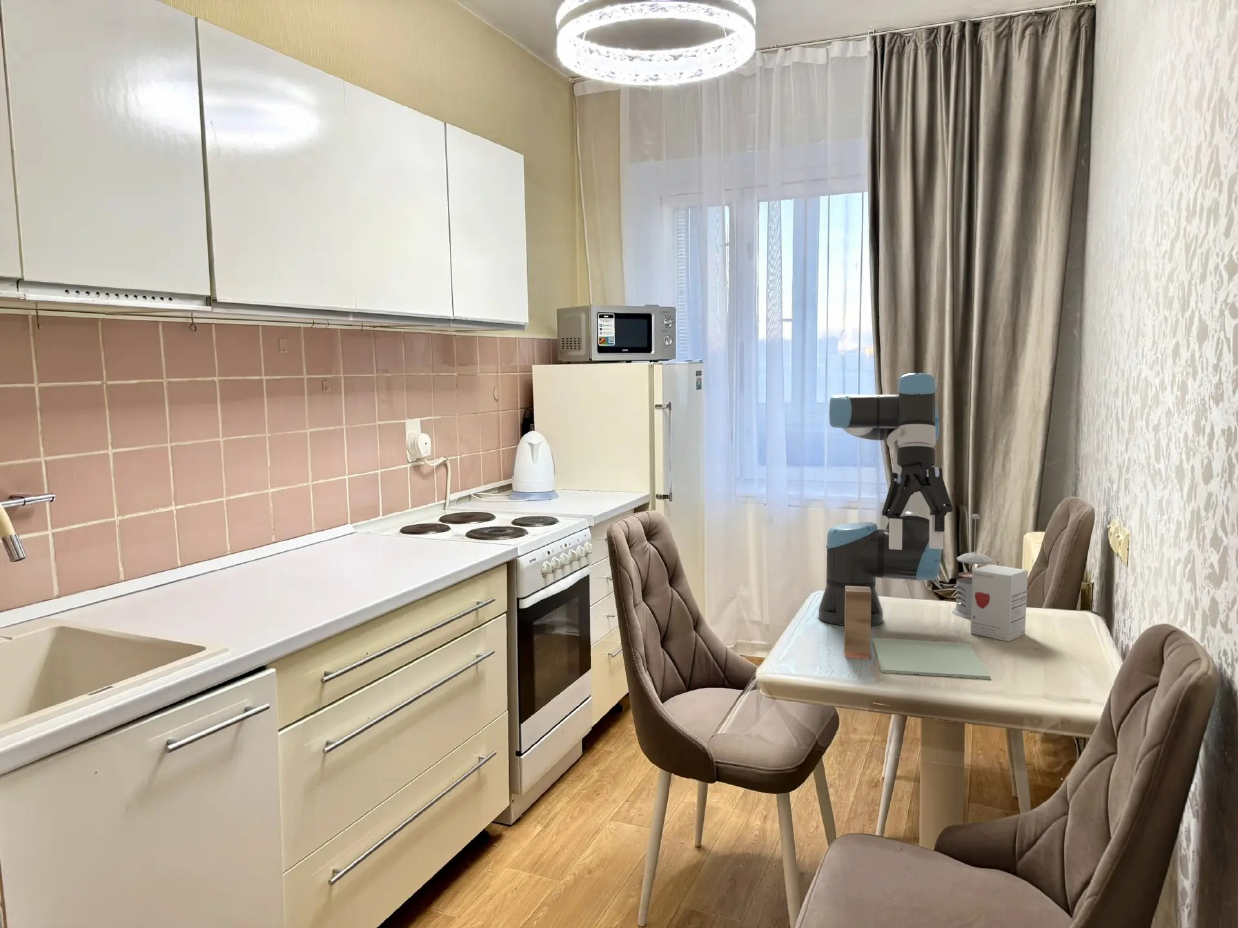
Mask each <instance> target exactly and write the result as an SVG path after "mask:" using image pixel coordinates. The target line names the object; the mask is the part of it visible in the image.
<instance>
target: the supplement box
mask: <svg viewBox="0 0 1238 928" xmlns="http://www.w3.org/2000/svg"><path fill="white" fill-rule="evenodd" d="M975 568H976V569H974V568H973V569H972V573H973V577H972V606H971V618H970V634H973V635H977V636H982V637H986V638H990V639H995V640H1000V641H1004V642H1010V641H1013V640H1015V639H1018V638H1020V637H1022V636H1024V635H1025V634H1026V619H1027V598H1028V597H1027V594H1028V578H1029V577H1028V575H1029V570H1028V569H1023V568H1016V567H1010V566H1002V565H996V564H990V563H988V564H985V565H983V566H981V567H980V566H979V567H975Z"/></svg>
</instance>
